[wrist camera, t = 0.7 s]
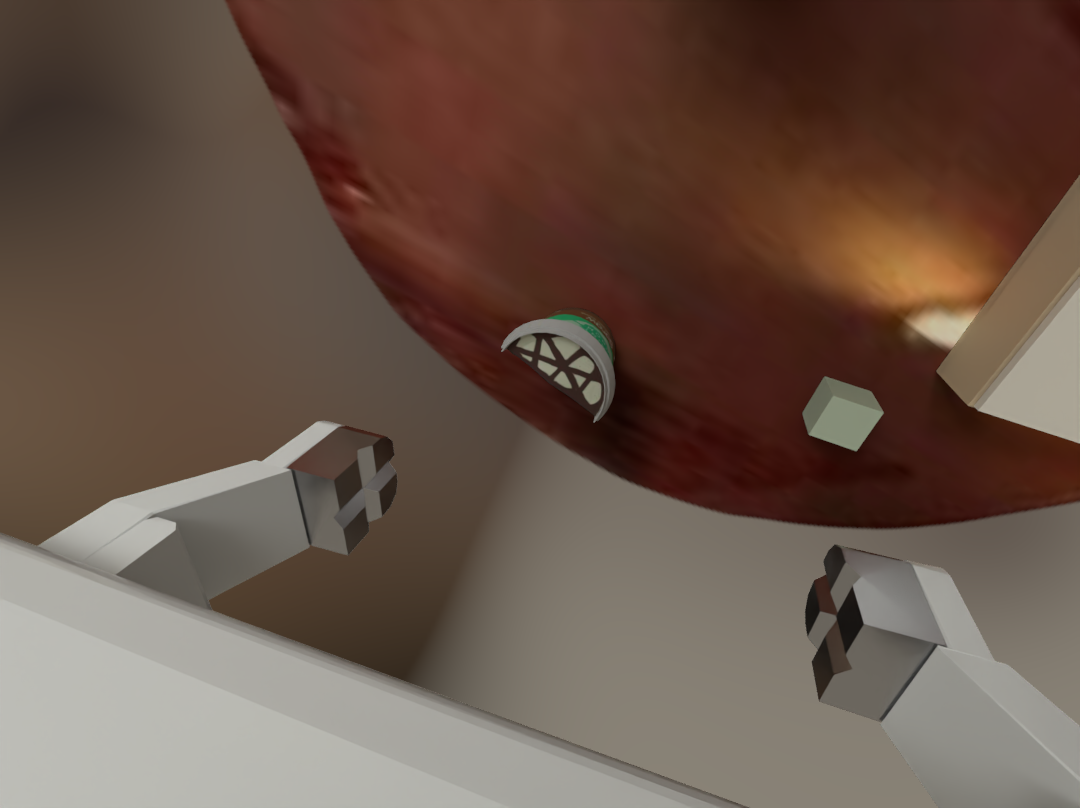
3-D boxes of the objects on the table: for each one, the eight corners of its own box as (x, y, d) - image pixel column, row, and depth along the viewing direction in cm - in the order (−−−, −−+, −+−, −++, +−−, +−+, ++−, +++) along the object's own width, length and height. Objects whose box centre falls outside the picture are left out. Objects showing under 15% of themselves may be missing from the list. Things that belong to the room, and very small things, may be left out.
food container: (651, 344, 53) (639, 383, 45) (616, 383, 57) (598, 426, 48) (559, 272, 53) (529, 298, 44) (529, 316, 56) (496, 348, 48)
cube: (824, 375, 49) (833, 395, 46) (870, 391, 49) (883, 412, 45) (801, 412, 52) (808, 434, 48) (846, 428, 51) (856, 451, 47)
